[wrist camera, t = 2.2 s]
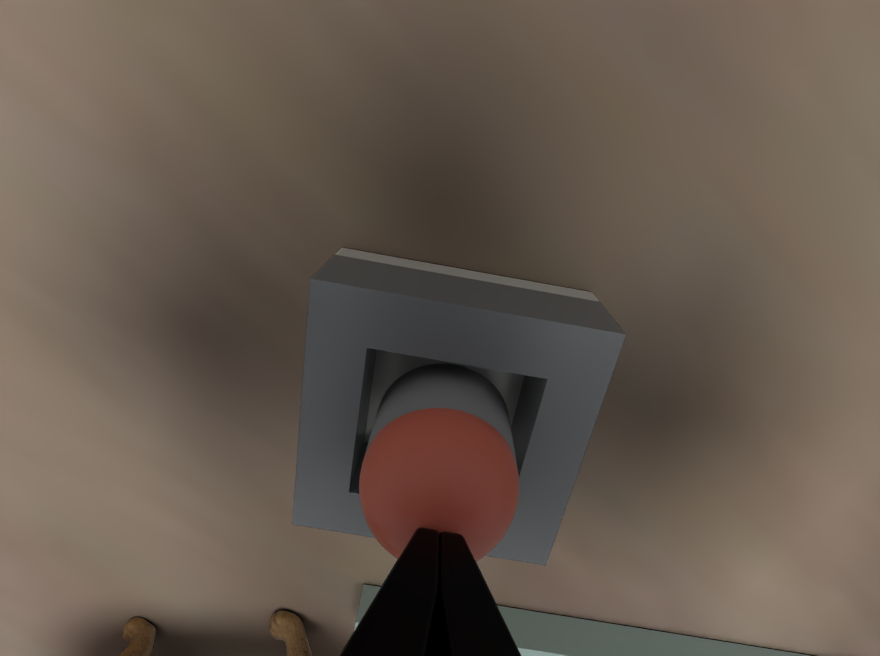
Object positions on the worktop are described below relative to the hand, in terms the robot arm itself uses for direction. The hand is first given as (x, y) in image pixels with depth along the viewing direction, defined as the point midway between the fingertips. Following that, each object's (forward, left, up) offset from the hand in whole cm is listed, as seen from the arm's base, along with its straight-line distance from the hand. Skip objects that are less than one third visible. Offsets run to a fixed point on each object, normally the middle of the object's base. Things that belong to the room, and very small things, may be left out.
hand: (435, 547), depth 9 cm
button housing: (0, 0, -6) cm, 6 cm away
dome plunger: (0, 0, -4) cm, 4 cm away
